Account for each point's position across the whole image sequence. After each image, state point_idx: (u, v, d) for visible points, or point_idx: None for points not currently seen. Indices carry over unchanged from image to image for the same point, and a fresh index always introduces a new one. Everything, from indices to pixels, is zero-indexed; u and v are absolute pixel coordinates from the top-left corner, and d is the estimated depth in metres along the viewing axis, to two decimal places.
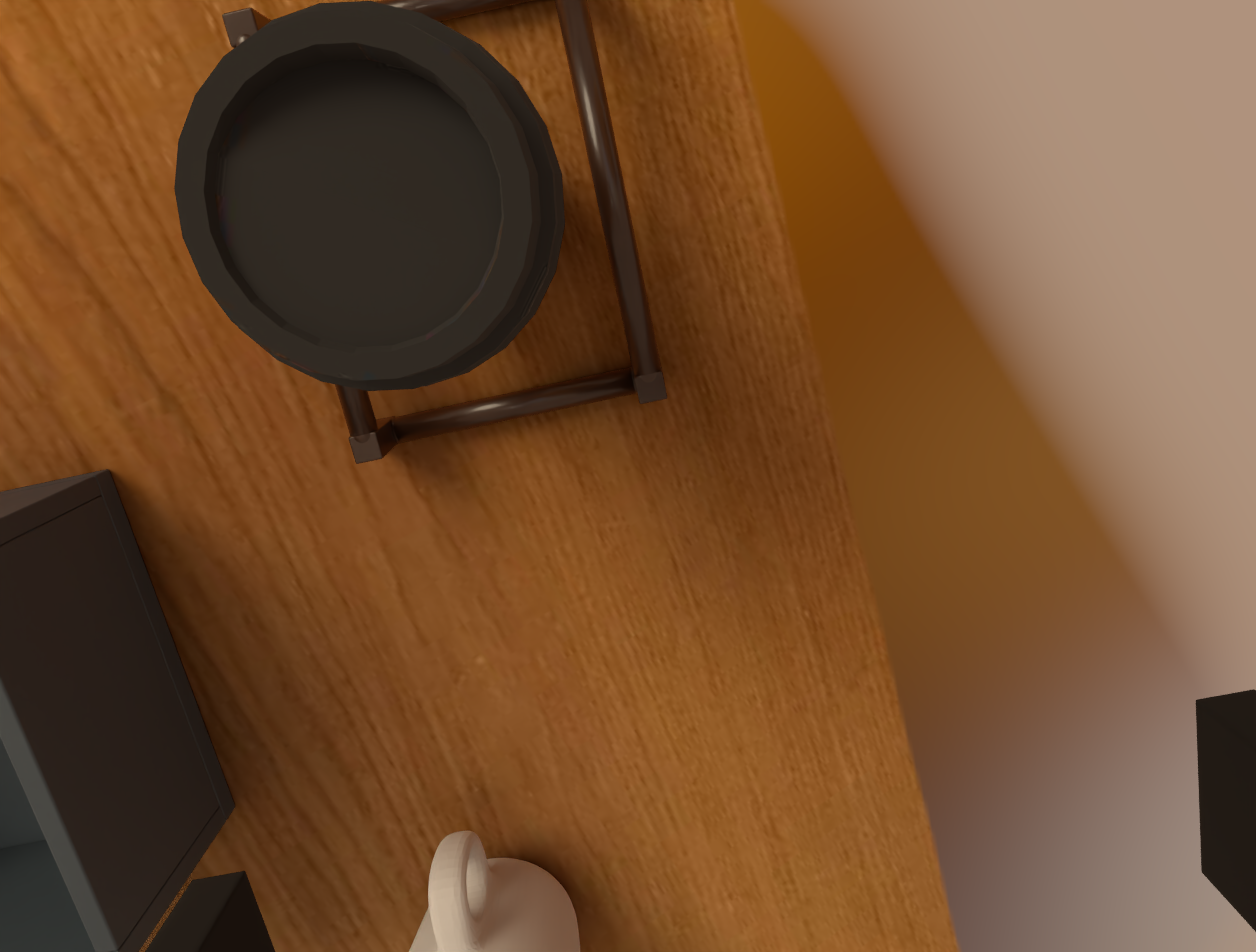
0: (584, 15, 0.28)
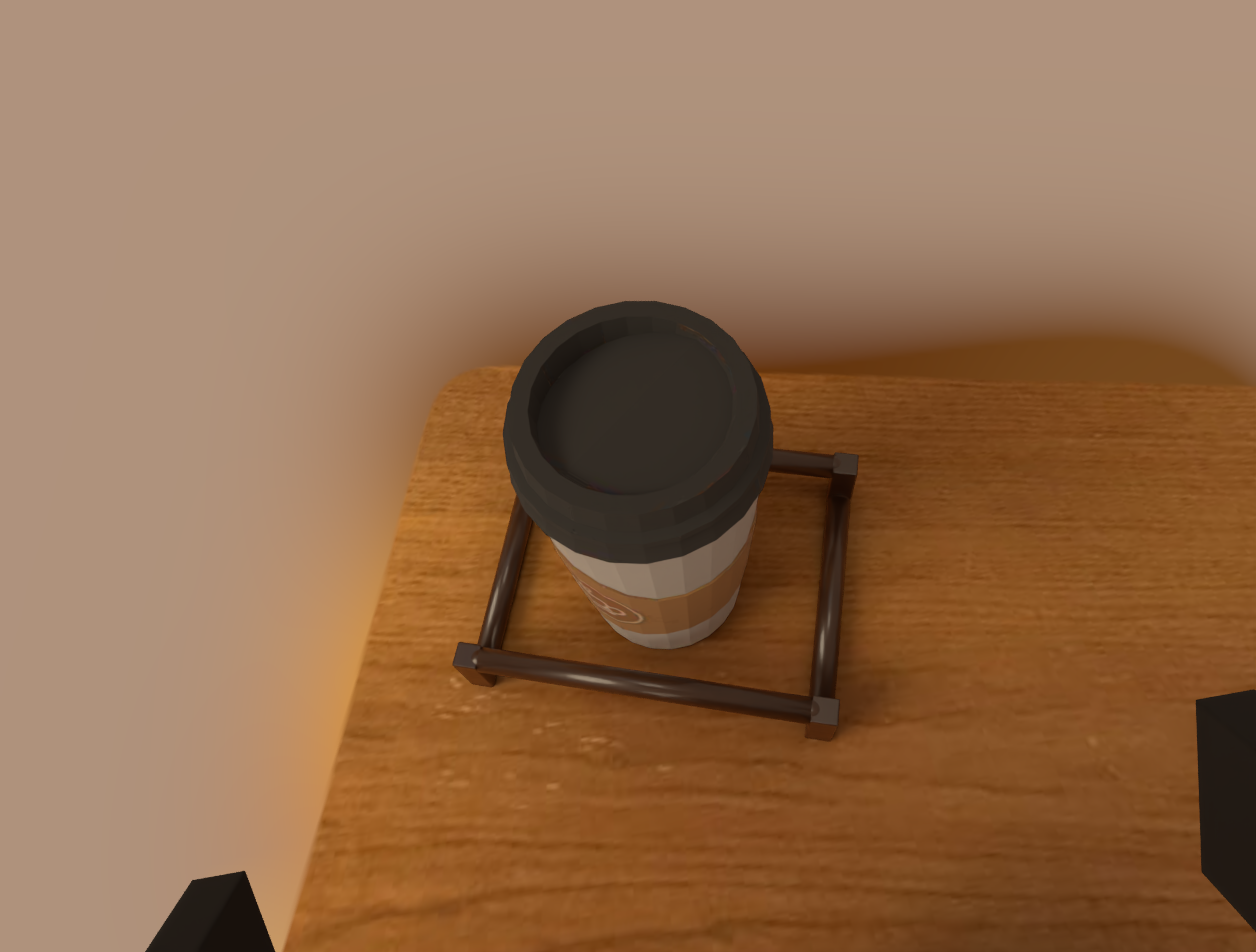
0: None
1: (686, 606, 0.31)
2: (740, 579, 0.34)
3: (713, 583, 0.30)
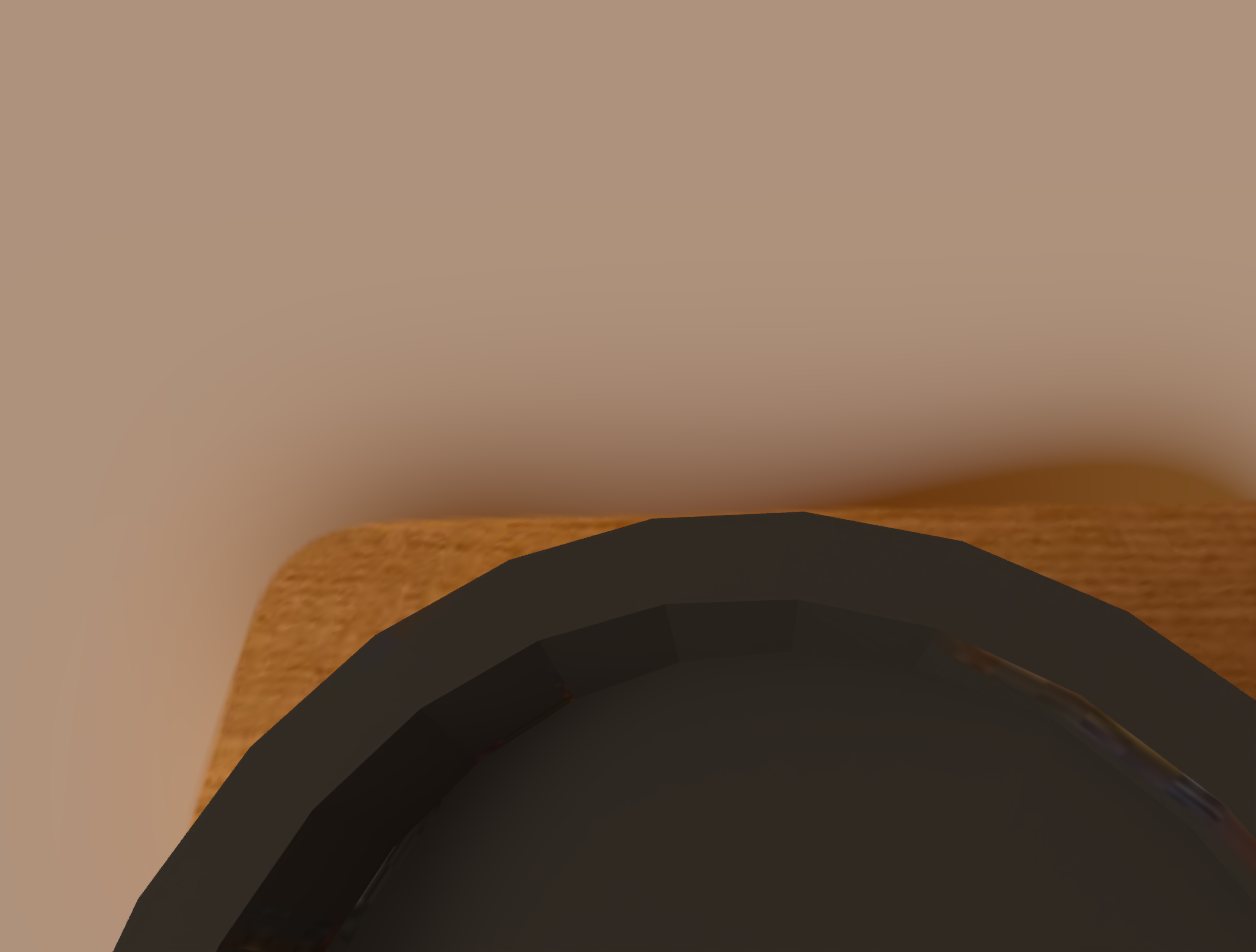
0: None
1: None
2: None
3: None
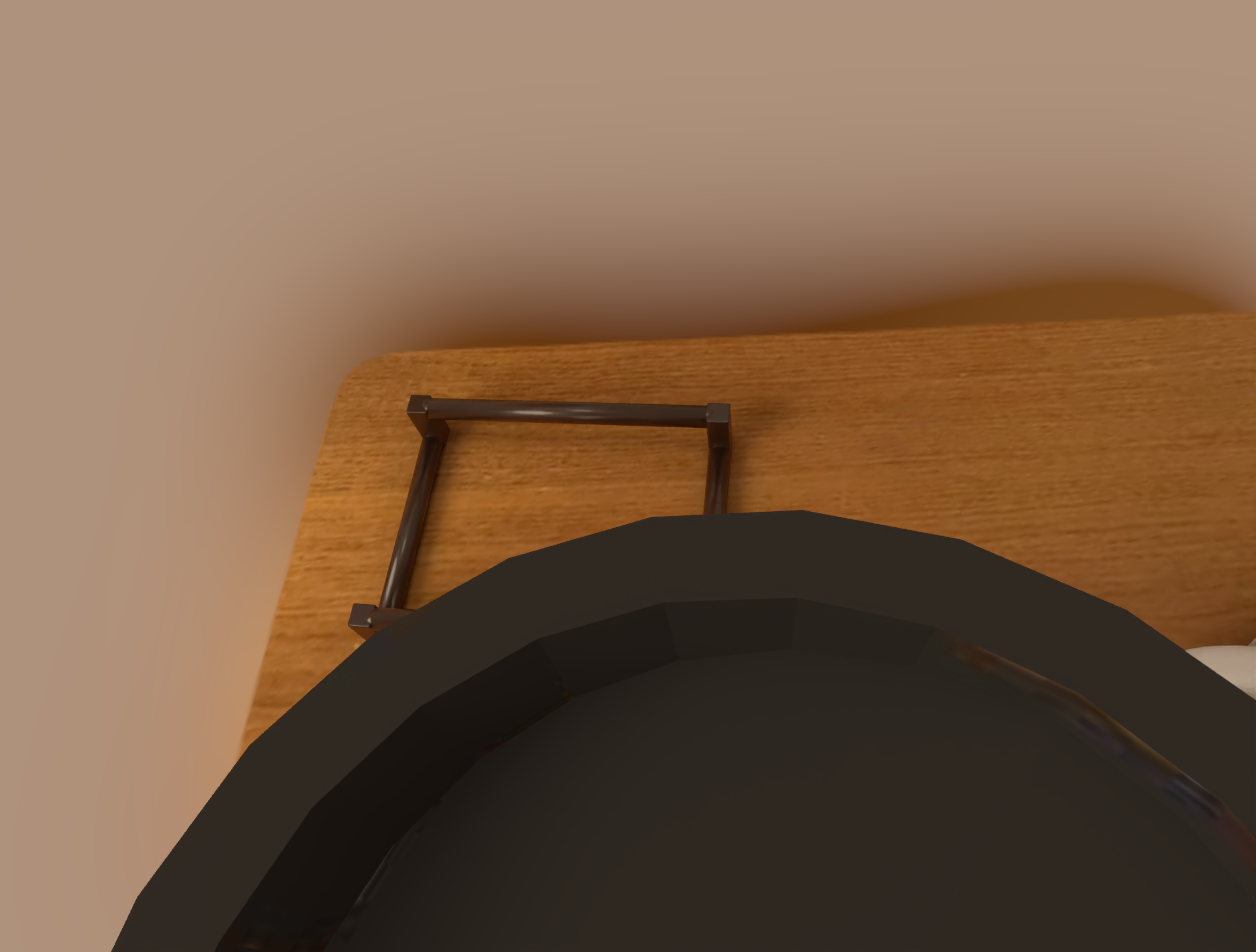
0: (458, 399, 0.42)
1: None
2: None
3: None
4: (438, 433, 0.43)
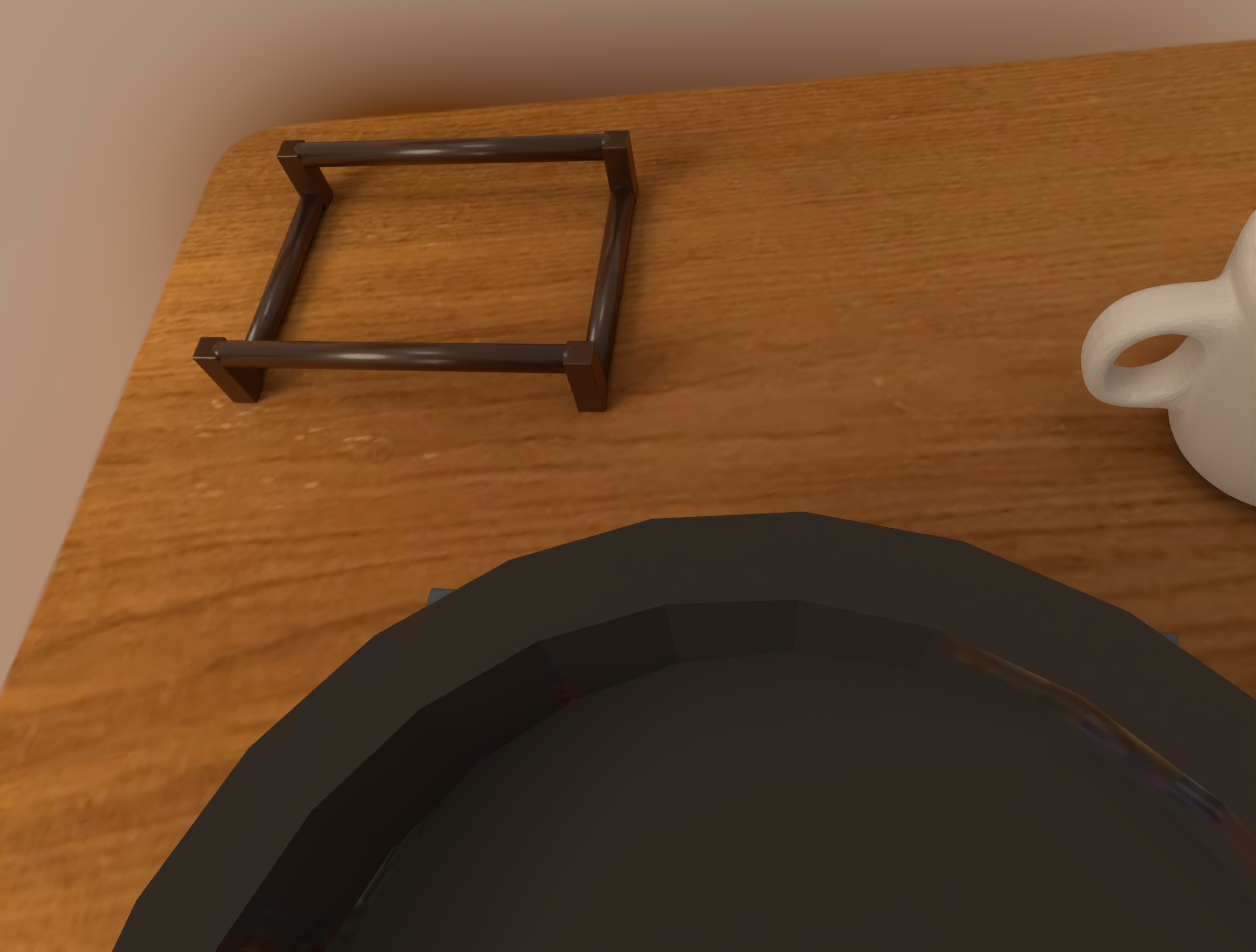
0: None
1: None
2: None
3: None
4: (316, 189, 0.39)
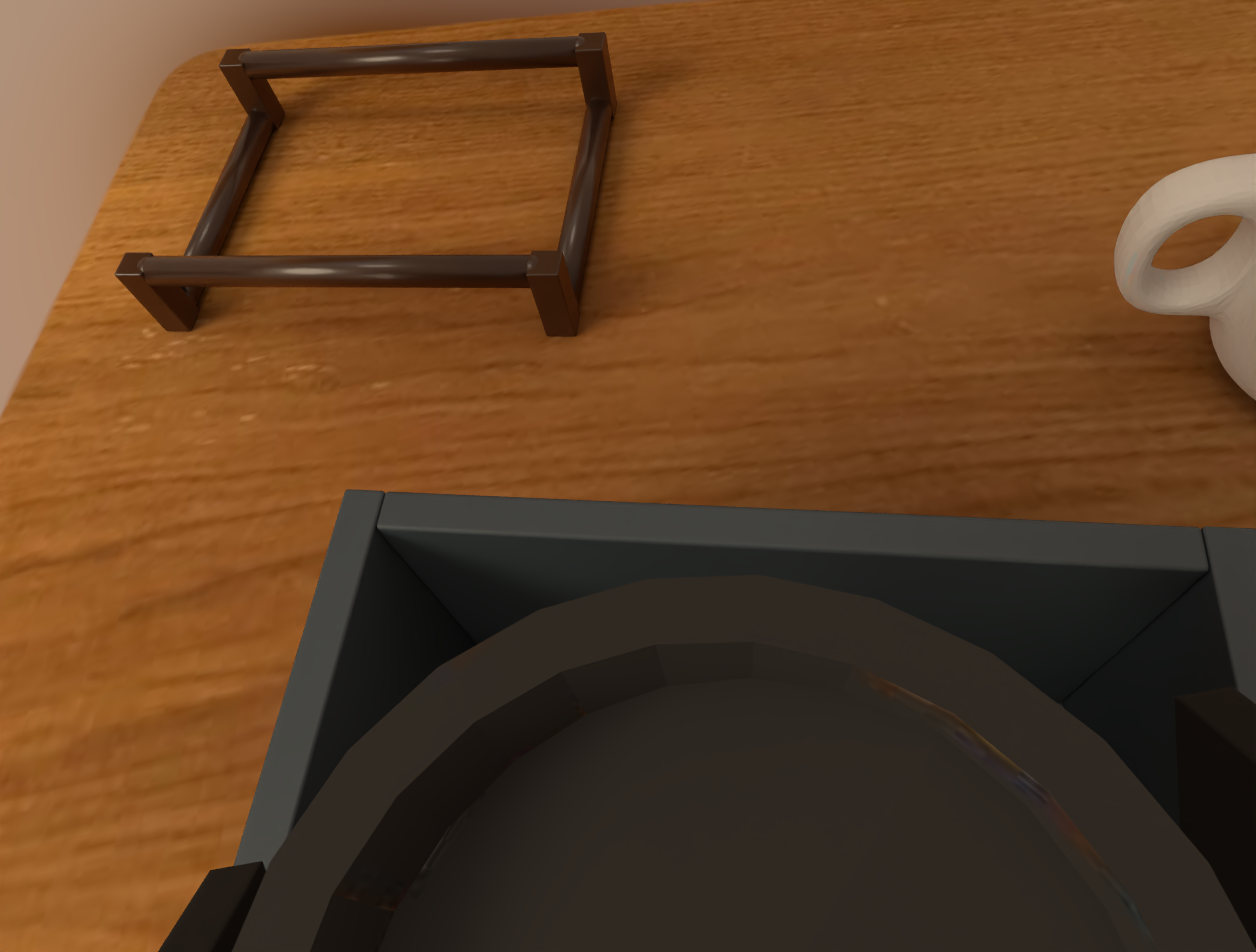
0: None
1: None
2: None
3: None
4: (265, 105, 0.36)
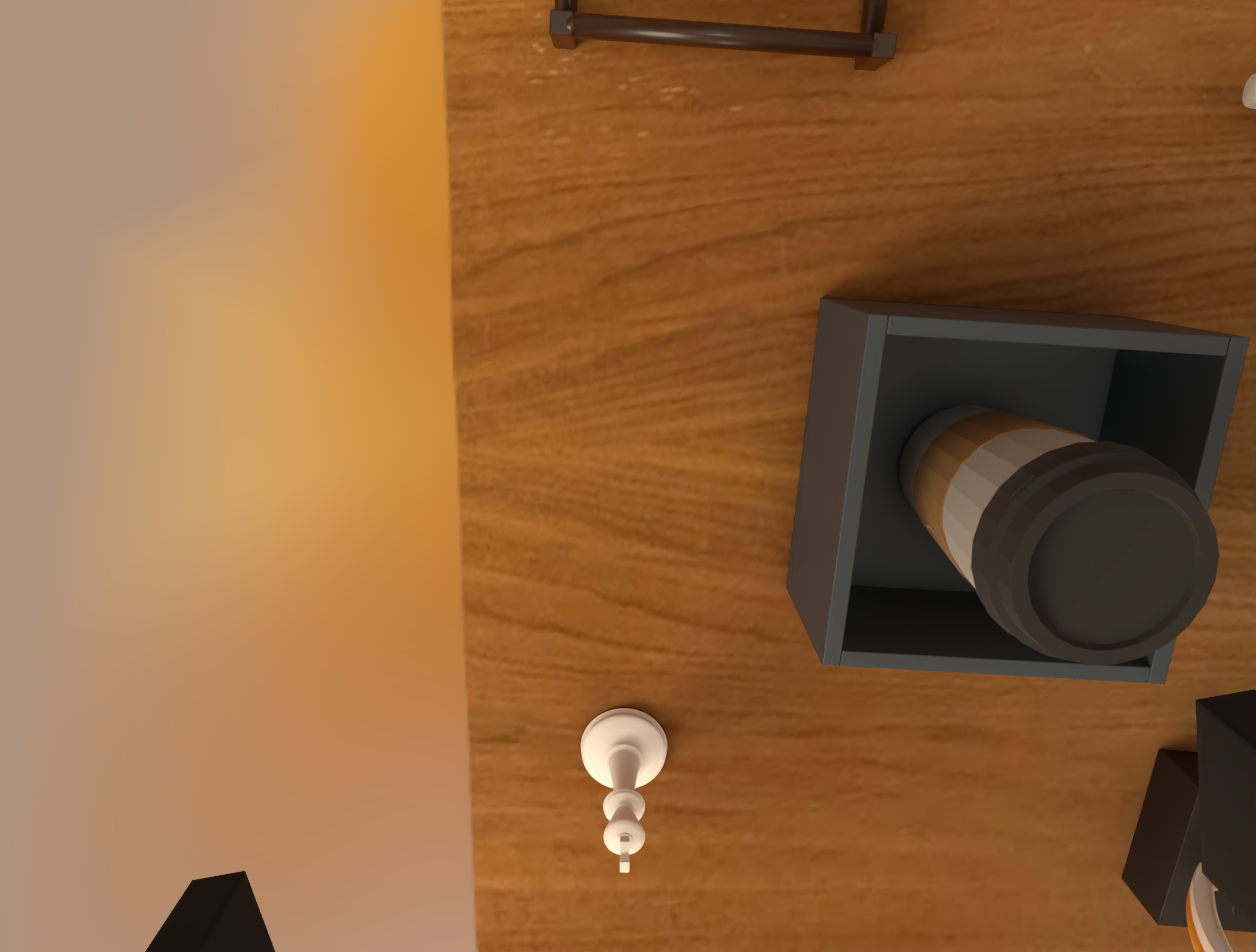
0: None
1: None
2: None
3: None
4: None
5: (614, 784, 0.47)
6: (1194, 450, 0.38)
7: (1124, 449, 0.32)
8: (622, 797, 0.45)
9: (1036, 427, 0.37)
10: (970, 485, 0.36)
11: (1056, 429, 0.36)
